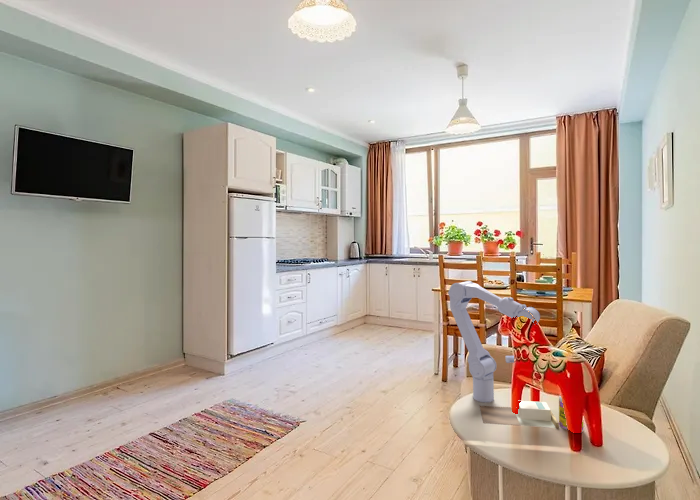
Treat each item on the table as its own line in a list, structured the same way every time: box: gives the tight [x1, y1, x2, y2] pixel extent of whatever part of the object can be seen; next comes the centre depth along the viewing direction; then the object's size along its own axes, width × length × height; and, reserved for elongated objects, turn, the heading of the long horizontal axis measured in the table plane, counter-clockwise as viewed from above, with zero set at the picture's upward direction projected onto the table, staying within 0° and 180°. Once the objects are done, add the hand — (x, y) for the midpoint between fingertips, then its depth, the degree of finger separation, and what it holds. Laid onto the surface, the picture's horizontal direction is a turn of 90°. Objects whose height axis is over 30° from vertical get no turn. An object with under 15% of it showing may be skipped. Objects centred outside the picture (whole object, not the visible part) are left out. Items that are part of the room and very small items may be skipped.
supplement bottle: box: [558, 395, 584, 432], centre depth 127 cm, size 7×7×13 cm
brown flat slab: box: [479, 405, 560, 429], centre depth 135 cm, size 14×22×2 cm, turn 78°
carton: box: [518, 400, 552, 421], centre depth 135 cm, size 6×9×4 cm
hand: (529, 384), depth 139 cm, fingers closed
